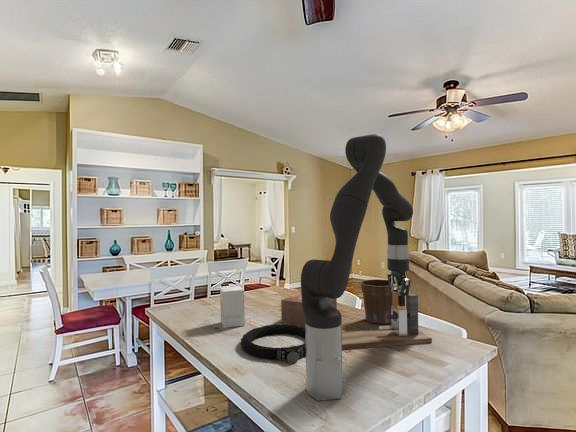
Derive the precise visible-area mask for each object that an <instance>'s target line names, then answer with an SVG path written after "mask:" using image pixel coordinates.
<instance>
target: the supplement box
mask: <svg viewBox="0 0 576 432" xmlns="http://www.w3.org/2000/svg"><path fill="white" fill-rule="evenodd" d="M219 290H220V291H219V295H220V297H219V298H220V323H221V325H222V328H223V329H228V328H236V327H244V326H246V318H245V317H246V315H245V314H246V312H245V289H243V287H242V286H240V285H238V286H237V285H236V286H227V287H225V286H224V287H223V286H222V287H220V288H219Z"/></svg>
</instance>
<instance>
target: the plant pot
mask: <svg viewBox="0 0 576 432" xmlns="http://www.w3.org/2000/svg"><path fill="white" fill-rule="evenodd" d="M359 284H360V286H361V287H360V288H361V293H362V297H363V305H364V315H365V320H366V322H368V323H372V324H376V323H377V324H379V325H389V324H390V325H391V324H392V319H387V317H386V315H388V314H391V306H392V292H391V290H390V289H389V283H388V279H366V280H361V281H360V282H359ZM391 287H392V286H391Z"/></svg>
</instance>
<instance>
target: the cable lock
mask: <svg viewBox="0 0 576 432" xmlns="http://www.w3.org/2000/svg"><path fill="white" fill-rule="evenodd" d="M283 334H284V335H285V334H287V335H293V336H294V335H295V336H299V337H302V338H305V339H306V337H305V335H306V333H305V327H303V326H297V325H290V324H284V323H281V324H280V323H279V324H267V325H264V326H260V327H256V328H253V329H250V330H249V331H247V332H246V333H244V334H243V335H242V337H241V339H240V346H241V349H243V350H244V352H246V353H247V354H249V355H251V356H253V357H255V358H256V357H257V358H261V359H266V360H277V361H280V362H281V361H285V360H286V363H289V364H295V363H297V362H298V361H299V360H300V359H301V358H303V357H304V356H306V342H304V343H302V344H298V345H293V346H289V347H287V346H285V347H282V346H281V347H271V346H264V345H259V344H255V343H254V342H253V341H255V340H256V339H258V338H261V337H264V336H270V335H283Z"/></svg>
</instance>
